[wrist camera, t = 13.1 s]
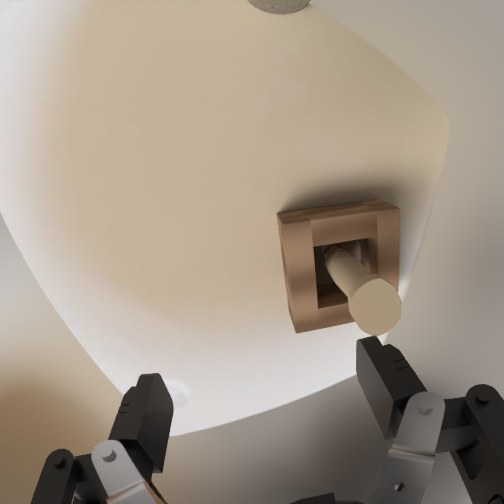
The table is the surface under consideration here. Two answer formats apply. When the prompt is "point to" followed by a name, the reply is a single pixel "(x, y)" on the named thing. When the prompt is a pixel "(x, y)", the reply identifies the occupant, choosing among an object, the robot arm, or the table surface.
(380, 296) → the handle
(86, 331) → the table surface
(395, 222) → the wooden block
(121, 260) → the table surface
